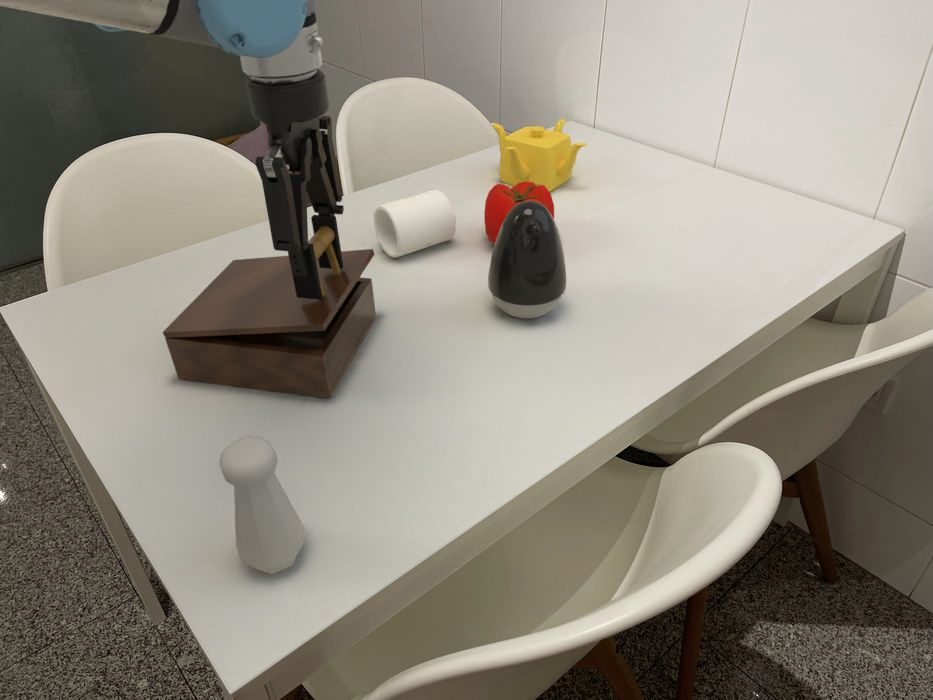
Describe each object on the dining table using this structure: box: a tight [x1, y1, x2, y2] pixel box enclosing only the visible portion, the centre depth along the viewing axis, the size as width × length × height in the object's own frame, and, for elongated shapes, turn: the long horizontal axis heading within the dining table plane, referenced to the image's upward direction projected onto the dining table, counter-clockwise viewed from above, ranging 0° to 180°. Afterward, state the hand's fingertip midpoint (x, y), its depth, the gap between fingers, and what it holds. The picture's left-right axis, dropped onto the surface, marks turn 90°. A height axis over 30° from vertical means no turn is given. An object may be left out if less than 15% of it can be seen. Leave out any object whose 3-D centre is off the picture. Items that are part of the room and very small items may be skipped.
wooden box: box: [164, 276, 377, 400], centre depth 86 cm, size 19×17×6 cm
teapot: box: [490, 118, 588, 193], centre depth 126 cm, size 15×14×10 cm
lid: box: [162, 226, 375, 339], centre depth 81 cm, size 20×17×7 cm
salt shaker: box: [219, 435, 306, 576], centre depth 58 cm, size 6×6×13 cm
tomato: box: [483, 181, 555, 246], centre depth 106 cm, size 11×12×9 cm
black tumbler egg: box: [487, 201, 567, 319], centre depth 89 cm, size 10×10×15 cm
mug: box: [373, 189, 457, 259], centre depth 107 cm, size 12×10×8 cm
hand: (320, 281), depth 80 cm, fingers closed on lid, 6 cm apart
